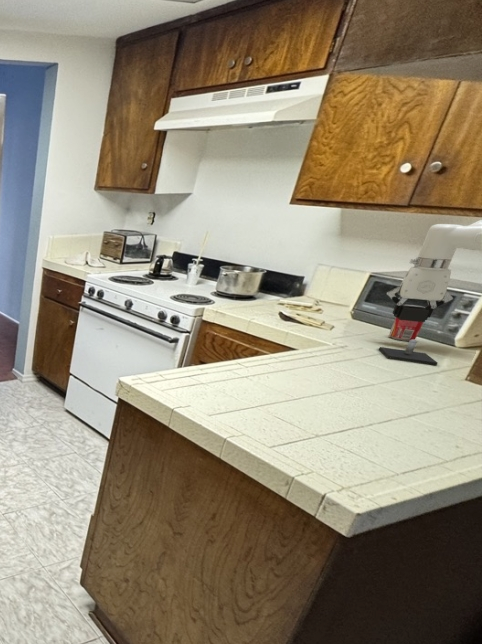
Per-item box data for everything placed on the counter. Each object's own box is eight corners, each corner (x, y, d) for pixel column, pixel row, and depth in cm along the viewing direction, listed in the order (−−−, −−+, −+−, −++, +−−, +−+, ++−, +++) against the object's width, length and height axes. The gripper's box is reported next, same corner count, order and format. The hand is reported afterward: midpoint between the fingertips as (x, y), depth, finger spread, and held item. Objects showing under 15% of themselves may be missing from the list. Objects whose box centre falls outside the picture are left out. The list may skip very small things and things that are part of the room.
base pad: (424, 356, 152) (432, 338, 150) (436, 365, 143) (445, 347, 141) (378, 349, 157) (385, 332, 155) (387, 358, 149) (395, 340, 146)
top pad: (418, 318, 159) (423, 307, 158) (424, 322, 155) (429, 310, 153) (394, 316, 162) (398, 304, 161) (399, 319, 158) (404, 308, 156)
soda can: (402, 336, 173) (417, 304, 168) (420, 342, 166) (436, 309, 162) (382, 335, 173) (395, 303, 169) (399, 341, 167) (413, 308, 162)
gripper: (398, 263, 153) (378, 316, 160) (475, 267, 144) (450, 324, 151) (392, 260, 159) (372, 312, 166) (465, 264, 150) (441, 319, 157)
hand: (409, 317), depth 158 cm, fingers closed on top pad, 6 cm apart
